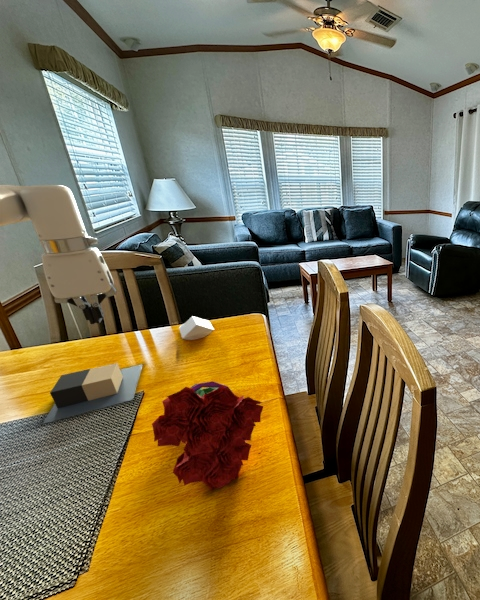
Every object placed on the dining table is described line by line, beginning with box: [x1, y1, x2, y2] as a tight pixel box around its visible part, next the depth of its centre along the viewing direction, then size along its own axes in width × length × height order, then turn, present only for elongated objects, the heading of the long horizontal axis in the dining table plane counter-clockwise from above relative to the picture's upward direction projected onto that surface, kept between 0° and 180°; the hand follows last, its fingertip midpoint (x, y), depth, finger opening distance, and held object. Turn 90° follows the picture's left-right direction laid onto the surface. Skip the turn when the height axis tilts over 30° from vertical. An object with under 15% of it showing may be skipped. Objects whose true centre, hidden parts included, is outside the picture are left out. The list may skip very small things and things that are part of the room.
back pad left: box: [49, 368, 91, 408], centre depth 80 cm, size 6×8×4 cm
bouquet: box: [151, 380, 264, 491], centre depth 67 cm, size 20×16×30 cm
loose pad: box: [82, 362, 123, 401], centre depth 82 cm, size 6×8×4 cm
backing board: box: [41, 363, 144, 425], centre depth 82 cm, size 16×18×1 cm
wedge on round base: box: [178, 315, 215, 341], centre depth 110 cm, size 9×7×13 cm
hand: (96, 321), depth 78 cm, fingers closed
